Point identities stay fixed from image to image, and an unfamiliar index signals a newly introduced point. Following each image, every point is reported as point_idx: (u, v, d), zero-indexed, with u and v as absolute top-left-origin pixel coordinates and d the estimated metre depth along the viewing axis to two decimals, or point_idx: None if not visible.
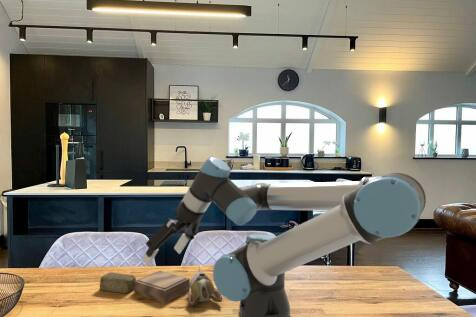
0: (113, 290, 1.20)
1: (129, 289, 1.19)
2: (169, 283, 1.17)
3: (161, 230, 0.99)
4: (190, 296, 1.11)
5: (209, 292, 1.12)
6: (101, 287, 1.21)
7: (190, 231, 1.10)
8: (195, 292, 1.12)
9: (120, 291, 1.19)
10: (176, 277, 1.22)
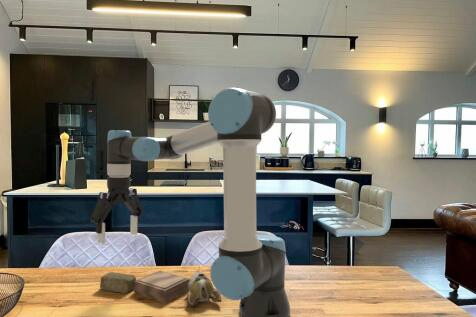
0: (113, 290, 1.20)
1: (129, 289, 1.20)
2: (169, 283, 1.17)
3: (98, 203, 1.14)
4: (189, 296, 1.11)
5: (208, 292, 1.11)
6: (101, 287, 1.21)
7: (132, 206, 1.24)
8: (194, 292, 1.11)
9: (120, 291, 1.19)
10: (176, 277, 1.22)
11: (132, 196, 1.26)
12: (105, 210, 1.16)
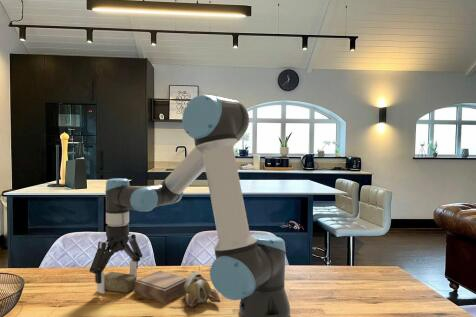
0: (114, 290, 1.20)
1: (129, 289, 1.20)
2: (169, 283, 1.17)
3: (97, 253, 1.15)
4: (188, 298, 1.10)
5: (206, 293, 1.11)
6: None
7: (131, 252, 1.25)
8: (192, 293, 1.11)
9: (120, 290, 1.19)
10: (176, 277, 1.22)
11: (131, 242, 1.27)
12: (104, 259, 1.17)
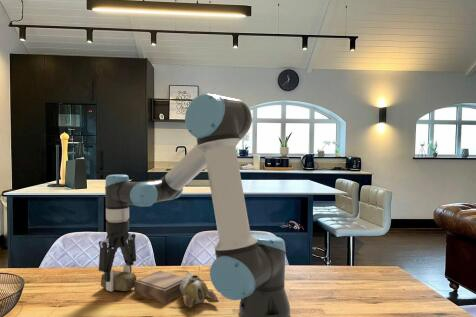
0: (113, 288, 1.19)
1: (129, 287, 1.19)
2: (169, 283, 1.17)
3: (101, 253, 1.16)
4: (186, 299, 1.09)
5: (204, 293, 1.11)
6: (102, 285, 1.21)
7: (127, 253, 1.24)
8: (190, 294, 1.10)
9: (120, 289, 1.19)
10: (176, 277, 1.22)
11: (130, 241, 1.26)
12: (109, 258, 1.18)
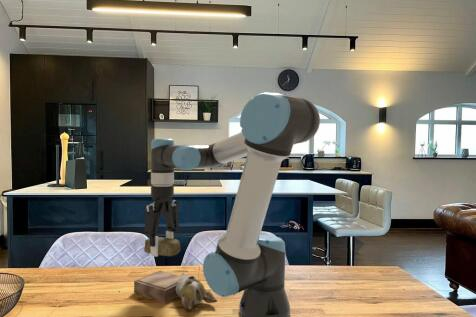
0: (158, 253, 1.18)
1: (174, 252, 1.17)
2: (169, 283, 1.17)
3: (147, 217, 1.14)
4: (184, 301, 1.08)
5: (202, 294, 1.10)
6: (146, 250, 1.19)
7: (171, 219, 1.22)
8: (188, 296, 1.09)
9: (165, 254, 1.17)
10: (176, 277, 1.22)
11: (173, 208, 1.24)
12: (155, 222, 1.16)
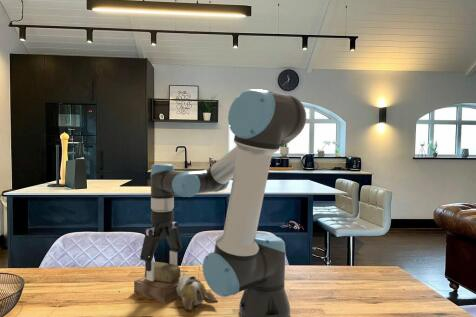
0: (158, 280, 1.18)
1: (174, 279, 1.17)
2: (169, 283, 1.17)
3: (145, 241, 1.14)
4: (184, 301, 1.08)
5: (203, 295, 1.10)
6: (146, 276, 1.20)
7: (173, 241, 1.23)
8: (188, 296, 1.09)
9: (165, 280, 1.17)
10: None
11: (174, 230, 1.25)
12: (152, 247, 1.16)
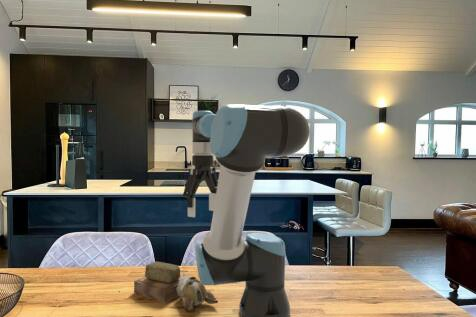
0: (157, 280, 1.18)
1: (173, 279, 1.17)
2: (169, 283, 1.17)
3: (189, 179, 1.21)
4: (185, 301, 1.07)
5: (203, 295, 1.10)
6: (146, 275, 1.20)
7: (212, 183, 1.32)
8: (189, 296, 1.08)
9: (164, 281, 1.17)
10: None
11: (211, 174, 1.33)
12: (194, 186, 1.23)
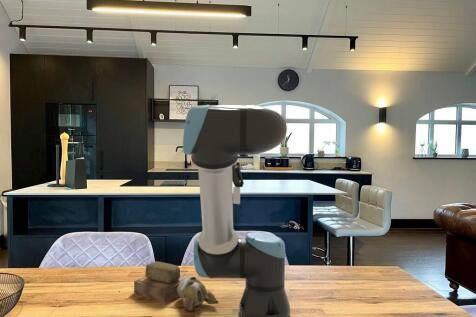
0: (157, 280, 1.18)
1: (172, 279, 1.17)
2: (169, 283, 1.17)
3: None
4: (185, 302, 1.07)
5: (203, 295, 1.09)
6: (146, 275, 1.20)
7: (237, 178, 1.38)
8: (189, 297, 1.08)
9: (163, 281, 1.17)
10: None
11: (236, 169, 1.39)
12: None
